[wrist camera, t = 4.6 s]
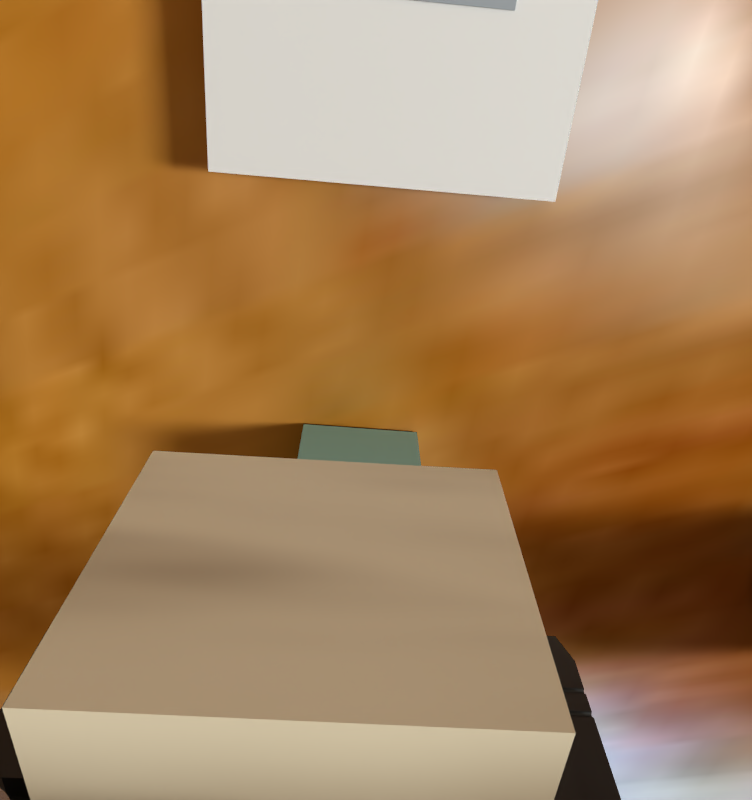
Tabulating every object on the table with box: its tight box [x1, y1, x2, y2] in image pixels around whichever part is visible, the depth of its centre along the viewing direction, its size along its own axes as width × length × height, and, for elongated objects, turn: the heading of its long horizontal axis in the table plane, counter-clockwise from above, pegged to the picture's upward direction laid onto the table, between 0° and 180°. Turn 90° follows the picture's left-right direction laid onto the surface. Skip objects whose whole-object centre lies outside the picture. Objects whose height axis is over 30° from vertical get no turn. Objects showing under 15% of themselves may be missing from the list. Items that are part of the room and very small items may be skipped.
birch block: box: [2, 451, 576, 800], centre depth 10 cm, size 6×6×5 cm
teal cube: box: [297, 424, 421, 466], centre depth 27 cm, size 5×5×5 cm
